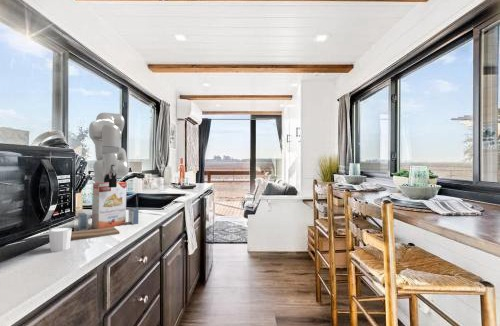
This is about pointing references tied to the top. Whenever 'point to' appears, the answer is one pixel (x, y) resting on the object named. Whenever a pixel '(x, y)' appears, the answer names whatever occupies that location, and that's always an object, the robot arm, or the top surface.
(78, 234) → the walnut board
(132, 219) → the twin grey pillars
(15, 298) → the top surface
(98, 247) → the top surface
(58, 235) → the white short tapered cylinder
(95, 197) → the cracker box
